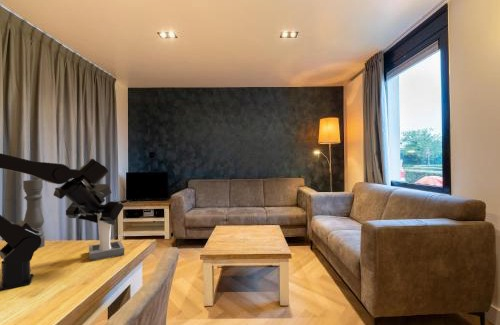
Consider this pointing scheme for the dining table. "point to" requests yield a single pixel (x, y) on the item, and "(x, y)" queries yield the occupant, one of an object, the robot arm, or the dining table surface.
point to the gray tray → (106, 251)
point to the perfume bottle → (104, 234)
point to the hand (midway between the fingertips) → (108, 223)
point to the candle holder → (34, 206)
